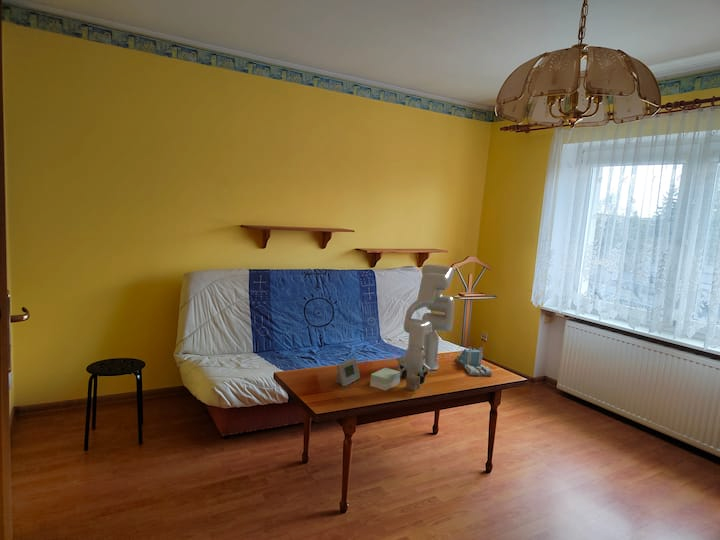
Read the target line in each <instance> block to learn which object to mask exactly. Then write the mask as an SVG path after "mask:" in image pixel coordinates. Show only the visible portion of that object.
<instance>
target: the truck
mask: <svg viewBox="0 0 720 540" xmlns="http://www.w3.org/2000/svg"><path fill="white" fill-rule="evenodd" d="M472 348H473V346H468V347H464V349H462V350H460V354H459V355H456V358H455V361H456V363H459V364H460V366H462V367H463V368H464V369H465V370H466V372H467V374H468V375H470V376H484V377H485V376H487V377H490V376H491V377H492V376H493V372H492V369H491V368H490V367H489V366H485V365H484V364H482V361H483V354H484V353H483V349H484V344H483V347H481V346H480V347H479V349H476V348H473V349H472Z"/></svg>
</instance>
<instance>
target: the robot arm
mask: <svg viewBox="0 0 720 540" xmlns="http://www.w3.org/2000/svg"><path fill="white" fill-rule="evenodd" d="M421 275H422V276H421V280H420V284H419V289H418V296H417V300H415V301H414V302H413V303H412V304H411V305H409V306H408V308H407V310H406V312H405V317H404V322H403V330H404V331H405V332H406V333H408V335H409V336H408V344H407V349H406V351H405V355H404V357H405V359H404V360H401V361H399V365H400V368H401V369H402V376H401V377H402V380H405V379H406V380H407V370H406V369H409V370H413V371H417V372H420V374H421V376H420V375H419V377H420V385H423V384H424V383H425V378H426V376H427V375H428V374H429V373H430V371H437V370H439V369H440V365H439V364H438V361H439V357H438V353H439V343H440V342H439V340H440V339H439V338H440V337H439V334H438V333H437V331H439V332H445V333H449V332H451V331H452V329H453V327H454V317H455V314H454V313H455V299H454V297H452V296H451V295H447V294H446V295H444V294H443V293H442V292H443V291H447V290H448V289H449V287H450V285H451V284H452V281H453V278H454V268H453V267H451V266H449V265H439V264H424V265H422V267H421ZM423 308H426V309H427V310H428V311H431V312H426V313H425V312H424V313H423V314H422V317H421V319H418V318H417V319H416V318H412V317H413V314H414V313H415V312H416V311H418V310H421V309H423ZM403 362H404V366H403V364H402V363H403ZM425 363H427V364H425ZM425 369H426V372H425V371H424V370H425Z"/></svg>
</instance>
